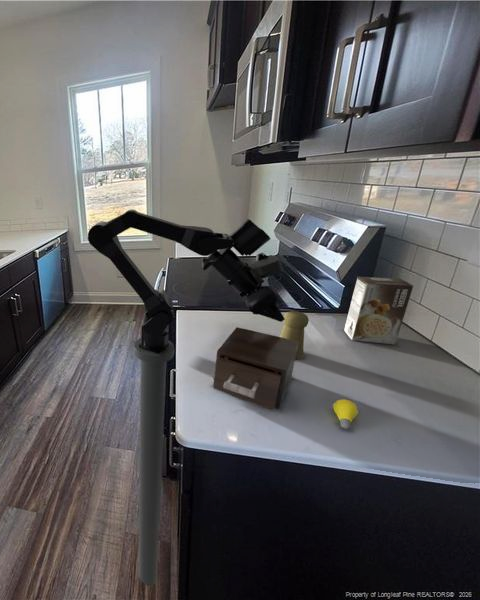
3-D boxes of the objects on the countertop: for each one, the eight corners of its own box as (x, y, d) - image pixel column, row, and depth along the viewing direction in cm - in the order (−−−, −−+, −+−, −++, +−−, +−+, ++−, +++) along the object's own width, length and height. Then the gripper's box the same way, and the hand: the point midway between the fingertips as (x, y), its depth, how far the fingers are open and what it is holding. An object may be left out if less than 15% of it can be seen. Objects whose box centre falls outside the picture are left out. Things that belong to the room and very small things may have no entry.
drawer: (268, 423, 57) (275, 390, 55) (205, 399, 65) (208, 369, 62) (286, 378, 69) (292, 349, 67) (231, 362, 76) (235, 335, 74)
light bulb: (349, 410, 60) (362, 401, 58) (349, 437, 57) (363, 428, 54) (329, 401, 62) (341, 392, 59) (328, 427, 58) (340, 418, 55)
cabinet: (278, 410, 62) (287, 370, 58) (213, 387, 70) (217, 350, 66) (291, 376, 71) (299, 341, 68) (232, 359, 79) (236, 327, 76)
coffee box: (384, 334, 86) (402, 277, 80) (395, 345, 81) (415, 285, 75) (342, 330, 89) (357, 275, 84) (350, 340, 84) (366, 283, 78)
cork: (299, 348, 82) (307, 309, 78) (306, 360, 77) (315, 319, 73) (272, 345, 84) (279, 307, 80) (277, 357, 79) (285, 317, 75)
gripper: (274, 254, 65) (325, 306, 66) (251, 237, 81) (292, 279, 83) (229, 290, 69) (277, 337, 71) (216, 267, 86) (255, 306, 87)
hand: (276, 312), depth 78 cm, fingers open, 9 cm apart
